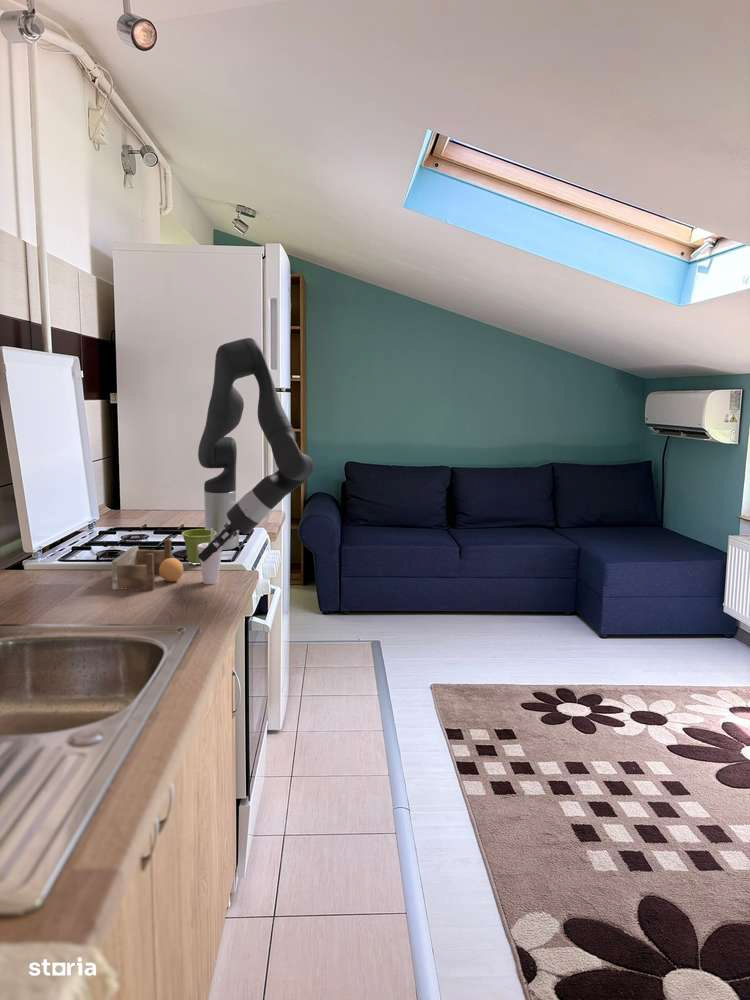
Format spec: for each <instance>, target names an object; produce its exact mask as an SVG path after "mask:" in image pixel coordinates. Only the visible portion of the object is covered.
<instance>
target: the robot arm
mask: <svg viewBox="0 0 750 1000" xmlns="http://www.w3.org/2000/svg"><path fill="white" fill-rule="evenodd" d="M213 375H214V377H213V385H212V390H211V396H210V399H209V404H208V408H207V416H206V420H205V426H204V429H203V432H202V435H201V438H200V441H199V445H198V449H197V450H198V453H197V456H198V457H197V458H198V462H199V464H200V466H201V467H203V468H205V469H223V470H222V471H221V473H219V474H218V475H217V476H215V477H212V478H210V479H207V480H206V481H205V482H204V483H203V485H204V486H203V487H204V488H203V489H204V490H203V491H204V492H203V493H204V494H203V495H204V529H208V530H211V528H213V531H216V535H215V536H214V537H213V541H212V542H211V543H209V544H208V546H207V547H206V548H205V549H204V550H203V551H202V552H201V553H200V554H199V555H198V557H199V558H200V559H201V560H202V561H203V562H205V561H206V560H207V559H208V558H209V557H210V556H211V555H212V554H213V553H215V552H217V551H218V549H219V548H220V547H223V549H222V551H227V550H232V549H233V550H234V549H235V548H237V547H240V532H241V533H242V534H244V535H249V533H251V532H252V531H253V530H254V529H255V528H256V527H257V526H258V525H259V524H260V523H261V522H262V521H263V520H264V519H265V518H266V517H267V516H268V515H269V514H270V513H271V511H272V510H273V509H274V508H276V506H277V505H279V503H280V502H281V501H283V499H284V498H285V497H286V496H287V495H290V493H293V491H295V490H296V489H297V488H299V487H300V486H302V485H303V484H304V483H305V482H306V481H308V479H309V478H310V477H311V476H312V474H313V472H314V467H315V465H314V461H313V459H312V458H311V457H310V456H309V455H307V454H305V453H302V451H301V450H300V448H299V446H298V443H297V442H296V432H295V430H294V428H293V426H292V423H291V422H290V420H289V418H288V416H287V414H286V412H285V409H283V406H282V403H281V401H280V399H279V395H278V392H277V390H276V386H275V383H274V381H273V376H272V374H271V371H270V368H269V366H268V362H267V360H266V357H265V354H264V353H263V350H262V348H261V346H260V344H259V343H258V342H257V341H256V339H254V338H253V337H246V338H240V339H237V340H233V341H230V342H225V343H224V344H223V343H222V344H221V345H219V346H218V348H217V351H216V353H215V360H214V374H213ZM252 375H253V376H254V377H255V379H256V380H255V381H256V382H257V385H258V405H257V419H258V424H259V427H260V428H261V431H262V432H263V434H264V436H265V438H266V441H267V442H268V444H269V446H270V448H271V452H272V456H273V459H274V462H275V465H276V467H277V469H278V470H277V471H275V473H273V474H270V475H267V476H265V477H264V478H262V479H261V480H260V481H259V482H258V483H257V484H256V485H255V486H254V487H253V488H252V489H251V490H249V491H248V492H247V493H245V494H244V495H243V496H242V497H241V498H240V499H239V500H238V501H237V490H236V489H237V487H236V486H237V453H238V452H237V443H236V441H235V439H234V438H233V437H231V436H227V435H229V434H230V433H231V432H232V431H233V430H235V429H236V428H237V427H238V425H239V424H240V422H241V419H242V416H243V412H244V408H245V407H244V405H245V403H244V398H243V396H242V394H241V393H240V392H239V390H237V389H236V388H235V387H234V383H235V381H236V380H238V379H242V378H246V377H249V376H252ZM213 543H218V544H219V546H218V547H216V546H215V545H214V544H213Z"/></svg>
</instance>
